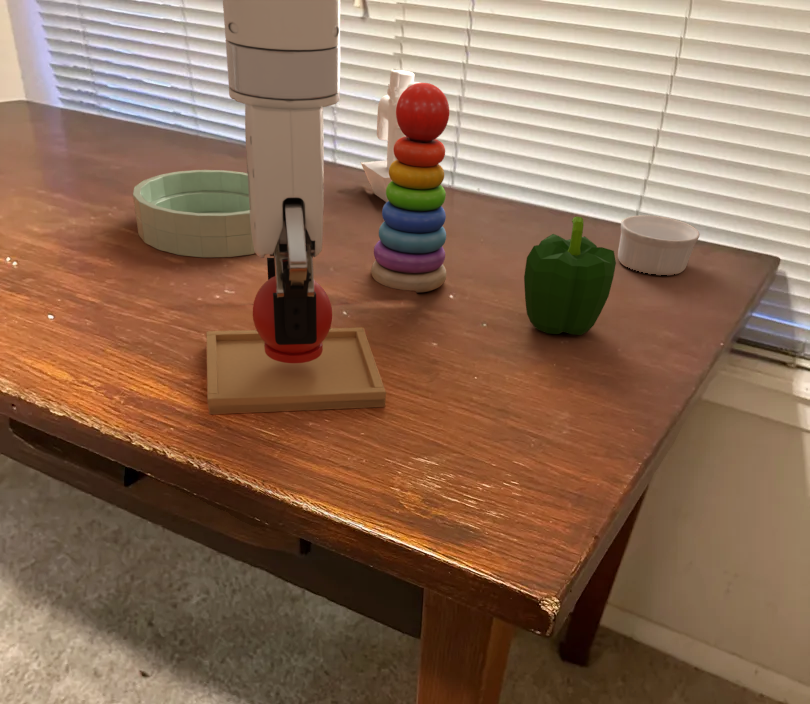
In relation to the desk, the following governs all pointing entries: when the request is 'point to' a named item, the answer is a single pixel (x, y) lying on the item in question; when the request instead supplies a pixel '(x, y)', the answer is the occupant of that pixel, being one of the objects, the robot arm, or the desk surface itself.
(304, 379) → the tray
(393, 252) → the stacking toy
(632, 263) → the ramekin
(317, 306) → the red round based ball
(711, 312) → the desk surface
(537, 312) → the bell pepper
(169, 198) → the bowl
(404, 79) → the figurine
